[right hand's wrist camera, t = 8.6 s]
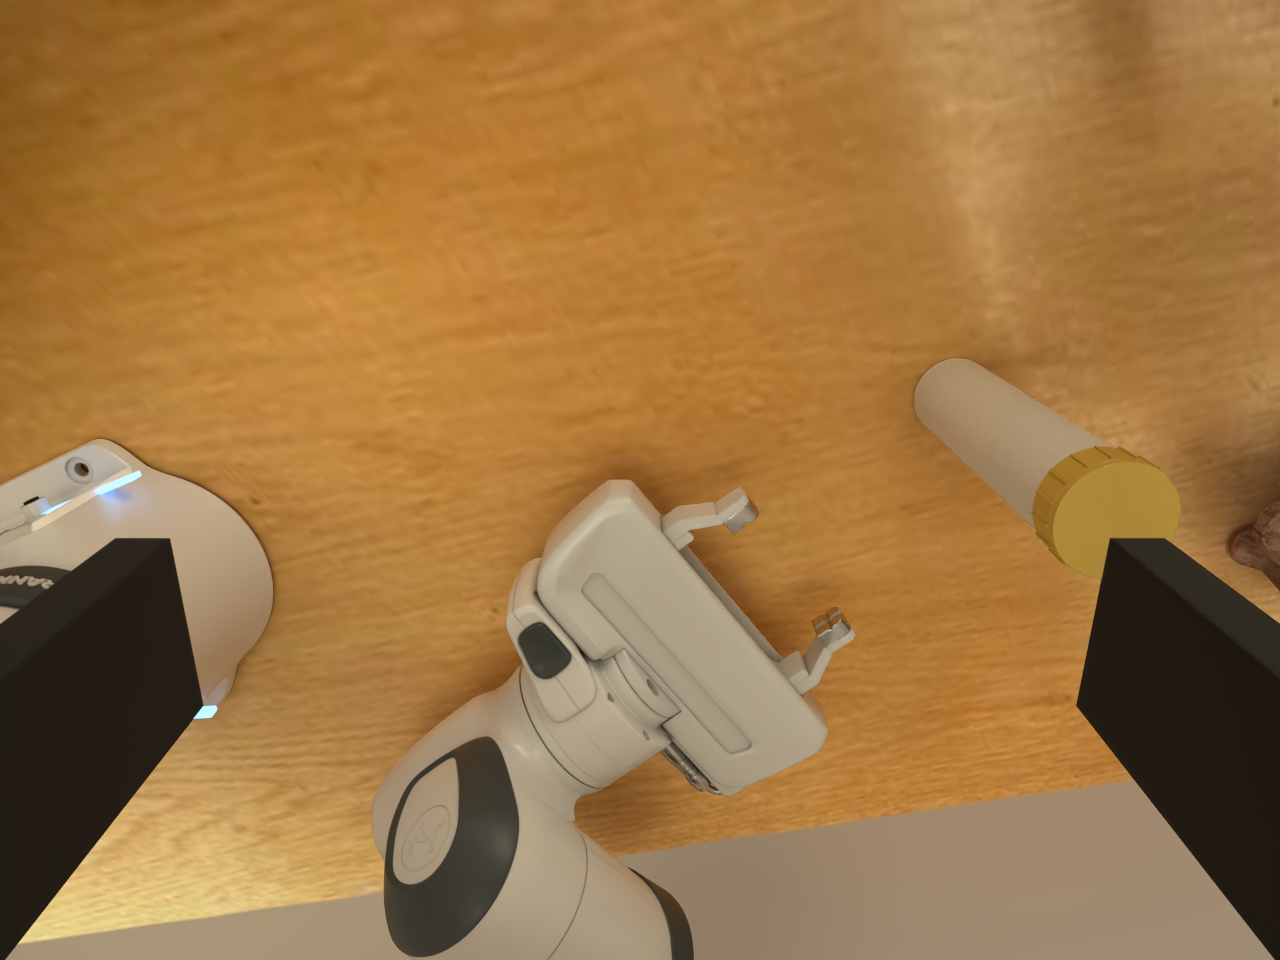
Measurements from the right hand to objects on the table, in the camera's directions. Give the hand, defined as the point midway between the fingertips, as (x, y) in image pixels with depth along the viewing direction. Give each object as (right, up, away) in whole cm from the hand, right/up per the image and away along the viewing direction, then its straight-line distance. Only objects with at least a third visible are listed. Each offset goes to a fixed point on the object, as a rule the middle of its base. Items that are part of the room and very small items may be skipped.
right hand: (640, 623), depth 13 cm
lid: (+19, +1, +23) cm, 30 cm away
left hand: (+9, -3, +37) cm, 38 cm away
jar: (+19, +7, +41) cm, 45 cm away
